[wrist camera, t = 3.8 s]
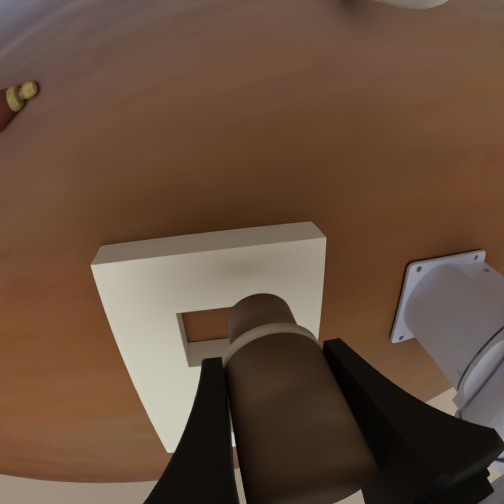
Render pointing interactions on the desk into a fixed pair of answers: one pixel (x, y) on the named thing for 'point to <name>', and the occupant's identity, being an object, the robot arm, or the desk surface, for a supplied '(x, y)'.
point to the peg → (289, 411)
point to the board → (199, 302)
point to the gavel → (14, 100)
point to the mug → (413, 3)
